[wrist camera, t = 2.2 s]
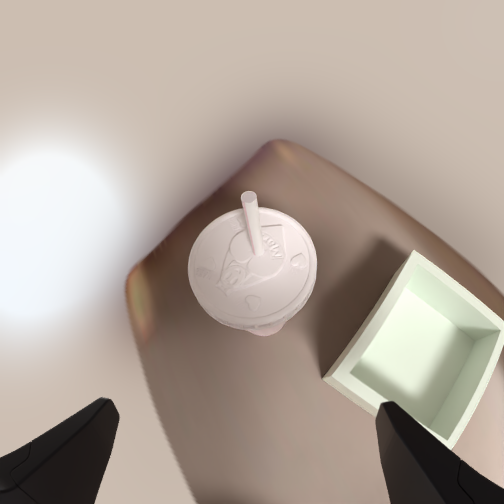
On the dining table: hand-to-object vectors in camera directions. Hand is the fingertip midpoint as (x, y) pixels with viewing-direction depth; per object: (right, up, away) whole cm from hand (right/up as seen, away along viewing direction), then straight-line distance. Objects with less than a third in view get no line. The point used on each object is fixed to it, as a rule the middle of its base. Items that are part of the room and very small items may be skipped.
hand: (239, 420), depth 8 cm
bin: (+13, -3, +11) cm, 18 cm away
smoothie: (+1, 0, +15) cm, 15 cm away
